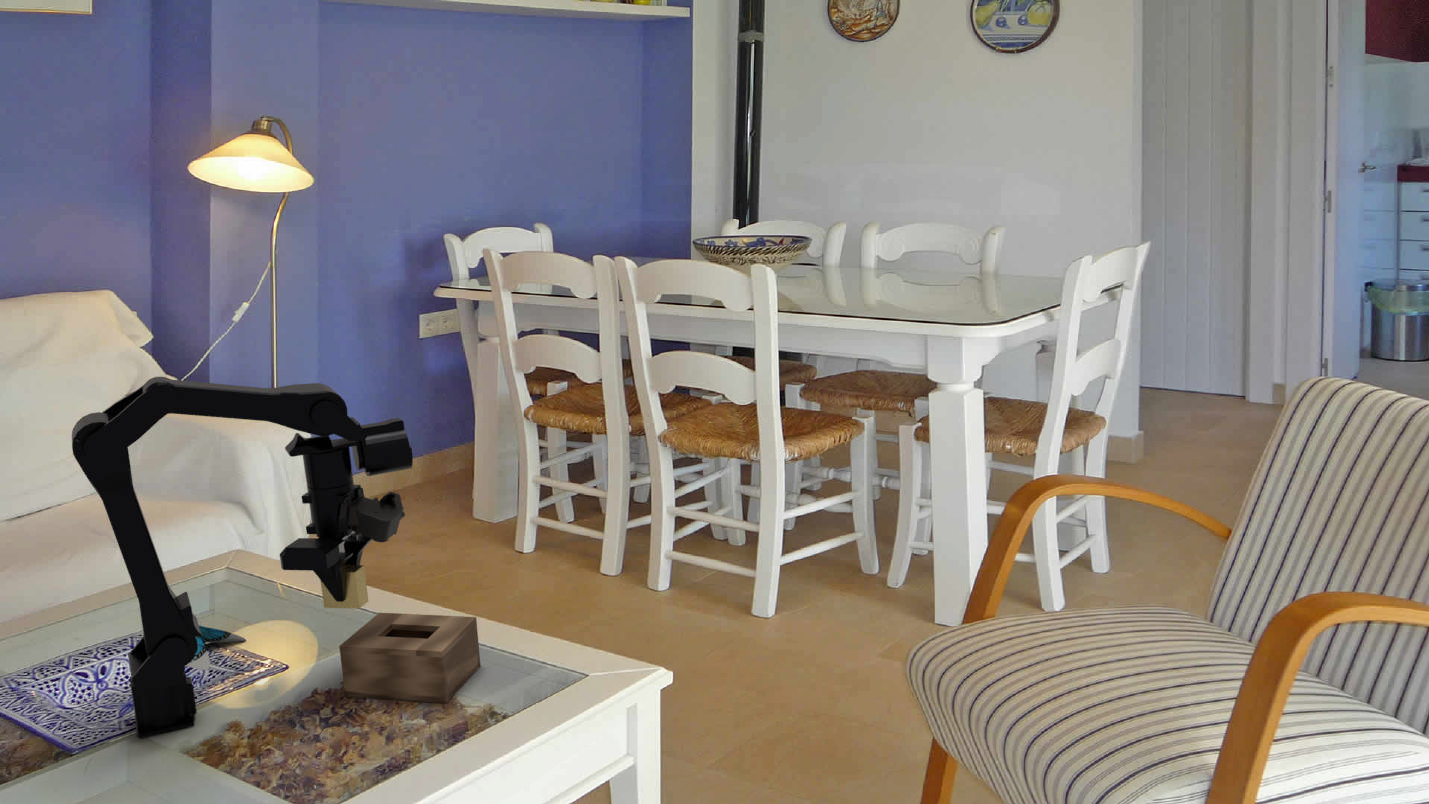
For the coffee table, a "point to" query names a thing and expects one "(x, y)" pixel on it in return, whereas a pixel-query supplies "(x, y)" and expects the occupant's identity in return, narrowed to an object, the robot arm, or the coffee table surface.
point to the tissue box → (410, 657)
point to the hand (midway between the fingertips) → (345, 597)
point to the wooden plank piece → (349, 589)
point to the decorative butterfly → (210, 636)
